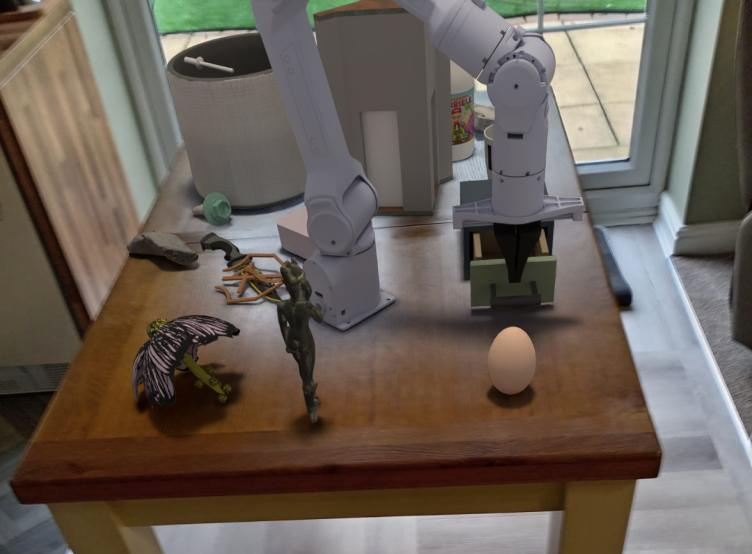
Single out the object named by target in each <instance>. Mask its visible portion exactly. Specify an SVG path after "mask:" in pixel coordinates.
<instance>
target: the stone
mask: <svg viewBox="0 0 752 554" xmlns="http://www.w3.org/2000/svg"><path fill="white" fill-rule="evenodd" d="M126 250H127V251H128V252H130V253H132V254H140V255H141V256H142V255H153V256H160V257H166V259H168V260H169V261H171V262H174V263H177V264H179V265H182V266H192V264H193V263H195V262H197V261H198V260H199V254H198V253H197V252H196V251H195V250H193V249H191V248H190V247H189V245H188V243H187V242H186V241H184V240H182V239H181V238H179V236H177V235H175V234H173V233H168V232H161V231H160V230H158V229H154V230H153V231H151V232H150V231H149V232H142V233H139V234H138V235H137V236H135V237H134V238H132V240H131V241H130V242H129V243H128V244H127V245H126Z"/></svg>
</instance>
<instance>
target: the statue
mask: <svg viewBox="0 0 752 554" xmlns="http://www.w3.org/2000/svg"><path fill="white" fill-rule="evenodd" d="M279 274H281V275H282V276H281V280H282V282H283V286H284V289H285V291H286V292H287V293H288V295H289V298H285V299H282V301H278V303H277V304H276V315H277V321H278V326H279V330H280V335H281V336H282V340H283V342H284V344H285V352H286V353H287V354H290V355H292V357H293V359H294V361H296V363H297V366H298V373H299V377H300V379H301V389H302V393H303V394H302V395H303V398H304V403H305V408H306V413H307V414H309V417H310V421H311V423H313V424H315V423H317V422H318V408H320V406H321V404H322V401H321V400H320V399H319V398H317V393H316V392H317V389H318V386H319V383H318V382H315V381H314V369H315V366H316V365H315V364H316V343H315V338H314V335H313V333H312V330H311V327H310V326H309V323H310V318H312V319H313V320H314V321H315V323H317V324H322V323H323V322H324V320H323V315H322V314H321V312H320V311H319V309H317V308H316V307H315V306H314V305H313V304H312V303H311V302H310V301H309V299H310V297H311V294H312V288H311V285H310V283H309V282H308V281H307V279H306V278H305V272H304V270H303V269H302V268H301V266H300V264H299V262H298V259H297V258H296V257H295V256H292V257H291V258H290V260H288V259H286V260H285V261H283V266H282V265H280V267H279Z"/></svg>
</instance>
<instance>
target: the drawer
mask: <svg viewBox="0 0 752 554" xmlns="http://www.w3.org/2000/svg"><path fill="white" fill-rule="evenodd" d="M541 228H542V233H541V236H540V239H539V241H538V242H537V243H536V245H535V246H534V248H533V250H532V252H531V253H530V255H529V258H528V260H527V262H526V265H525V267H524V270H523V274H522V278H521V282H520V283H509V279H508V269H507V265H506V262H505V259H504V256H503V254H502V251H501V249H500V247H499V245H498V244H497V241H496V239H495V236H494V230H490V231H475V232H472V259H473V261H470V279H469V280H470V281H469V285H470V290H469V291H470V297H469V298H470V308H479V307H490V308H489V309H490V310H496V309H497V310H499V309H515V308H530V307H531V308H532V307H541V306H542V304H544V303H545V304H547V303H554V301H555V290H556V278H557V277H556V276H557V267H558V265H557V264H558V258H557V255H552V256H548V255H549V251H548V247H547V242H546V238H545V233H544V229H543V227H541ZM515 232H516V229H515ZM515 251H516V249H515Z"/></svg>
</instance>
